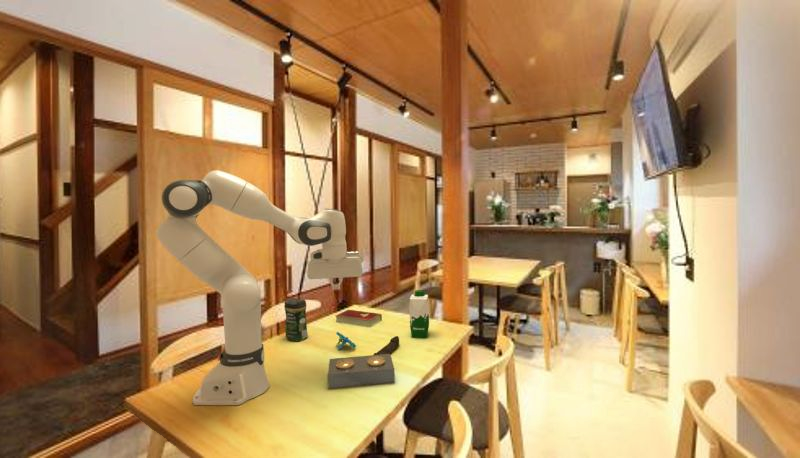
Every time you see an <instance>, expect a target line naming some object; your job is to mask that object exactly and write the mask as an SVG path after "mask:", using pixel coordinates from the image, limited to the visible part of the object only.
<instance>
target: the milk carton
mask: <svg viewBox="0 0 800 458" xmlns="http://www.w3.org/2000/svg"><path fill="white" fill-rule="evenodd" d="M424 293H425V292H424V290H421V289H416V290H414V294H411V295H410V297H409V302H408V305H409V327H410V335H411V338H414V339H417V338H418V339H427V338H428V335H429V334H428V333H429V328H430V303H429V294H424Z"/></svg>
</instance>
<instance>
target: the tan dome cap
mask: <svg viewBox="0 0 800 458" xmlns="http://www.w3.org/2000/svg"><path fill="white" fill-rule="evenodd" d="M367 364H368V365H370V366H381V365H383V364H385V358H384V357H381V356H373V357H370V358H368V359H367Z"/></svg>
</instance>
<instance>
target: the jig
mask: <svg viewBox="0 0 800 458" xmlns="http://www.w3.org/2000/svg"><path fill="white" fill-rule="evenodd" d="M373 356H381V357H384V358H385V364H383V365H381V366H370V365H368V364H367V359H368V358H370V357H373ZM392 359H393V358H392V355H391V353H390V354H381V355H374V354H372V355H359V356H358V355H357V356H350V357H349V356H348V357H339V358H337V357H336V358H335V357H334V358H329V363H328V371H327V382H328V383H327V385H328V388H327V389H328V390H334V389H335V390H336V389H346V388H356V387H357V388H358V387H367V386H376V385H385V384H387V385H389V384H394V383H396V381H395V380H396V379H395V366H394V363H393V360H392Z"/></svg>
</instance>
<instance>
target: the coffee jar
mask: <svg viewBox="0 0 800 458" xmlns="http://www.w3.org/2000/svg"><path fill="white" fill-rule="evenodd" d="M306 311H307V301H306V300H305V299H302V298H295V297H290V298H287V299H285V301H284V312H285V338H286V339H287V340H289V341H293V342H299V341H304V340H306V339H307V338H308V334H309V333H308V326H307V316H306V315H307V314H306V313H307V312H306Z"/></svg>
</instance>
